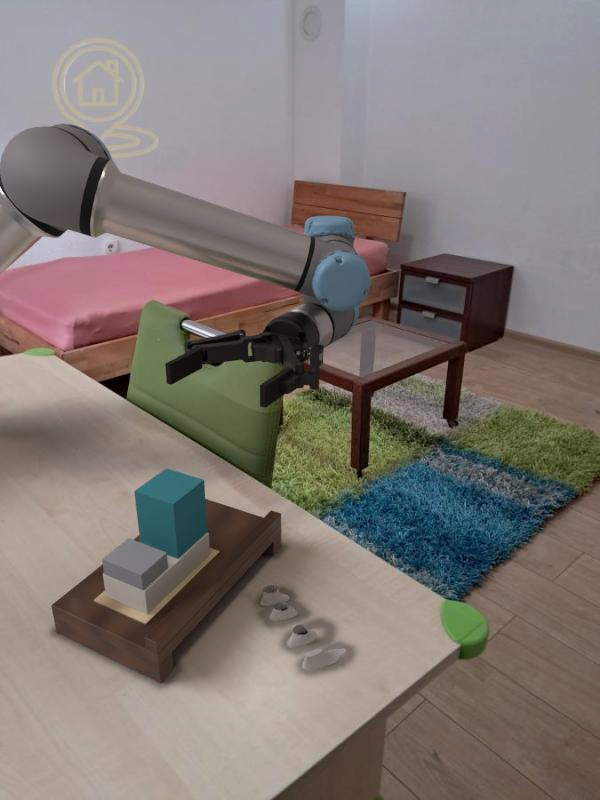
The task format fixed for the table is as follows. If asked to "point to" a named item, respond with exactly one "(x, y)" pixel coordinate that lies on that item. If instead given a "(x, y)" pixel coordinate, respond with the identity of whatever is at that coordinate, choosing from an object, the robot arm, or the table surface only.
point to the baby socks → (298, 630)
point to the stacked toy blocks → (160, 542)
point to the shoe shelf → (181, 609)
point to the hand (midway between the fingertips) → (213, 385)
